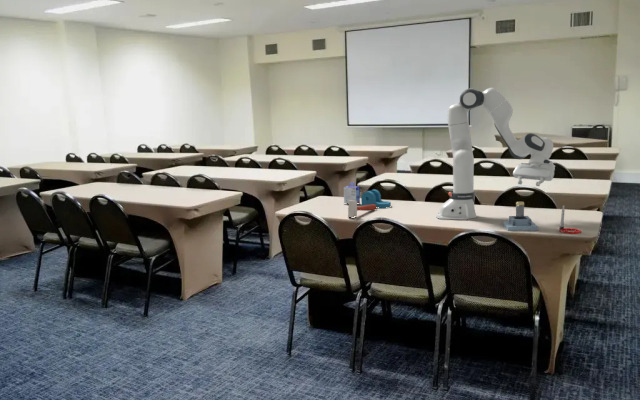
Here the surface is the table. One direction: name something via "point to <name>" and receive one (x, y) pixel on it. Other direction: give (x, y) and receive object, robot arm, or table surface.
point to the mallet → (358, 208)
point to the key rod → (519, 210)
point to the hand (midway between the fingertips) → (528, 184)
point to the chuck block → (520, 224)
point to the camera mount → (374, 199)
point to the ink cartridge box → (351, 193)
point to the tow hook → (564, 230)
